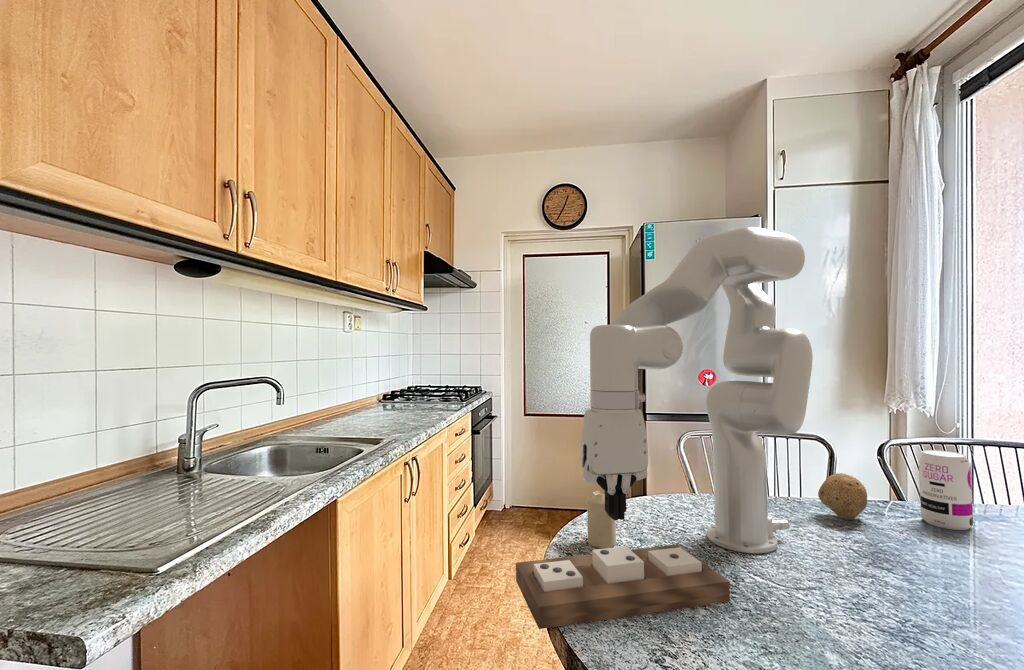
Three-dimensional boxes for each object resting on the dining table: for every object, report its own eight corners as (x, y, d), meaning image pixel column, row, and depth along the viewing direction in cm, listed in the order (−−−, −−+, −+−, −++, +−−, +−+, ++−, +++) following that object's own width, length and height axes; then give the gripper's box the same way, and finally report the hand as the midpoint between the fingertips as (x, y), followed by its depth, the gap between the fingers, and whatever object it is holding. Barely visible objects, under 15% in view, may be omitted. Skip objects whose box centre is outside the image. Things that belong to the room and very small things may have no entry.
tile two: (626, 564, 79) (626, 545, 79) (644, 581, 73) (643, 560, 73) (592, 568, 78) (592, 548, 78) (607, 586, 72) (607, 564, 72)
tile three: (569, 578, 77) (569, 558, 77) (583, 597, 71) (582, 576, 71) (533, 583, 75) (533, 563, 75) (544, 602, 69) (544, 580, 70)
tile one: (680, 565, 81) (680, 546, 81) (702, 581, 75) (701, 561, 75) (648, 569, 80) (648, 550, 80) (667, 586, 74) (667, 565, 74)
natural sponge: (812, 517, 106) (810, 472, 106) (828, 509, 111) (827, 466, 112) (860, 529, 99) (858, 481, 99) (875, 520, 104) (873, 474, 104)
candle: (616, 549, 91) (615, 496, 91) (587, 547, 92) (586, 495, 92) (615, 538, 96) (614, 488, 96) (588, 536, 97) (587, 487, 97)
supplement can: (967, 521, 103) (964, 451, 103) (978, 534, 96) (974, 459, 96) (918, 515, 107) (915, 448, 107) (925, 526, 100) (922, 455, 100)
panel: (678, 561, 85) (677, 544, 85) (730, 601, 72) (729, 581, 72) (516, 581, 79) (515, 562, 79) (538, 629, 65) (538, 607, 65)
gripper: (645, 398, 81) (646, 506, 81) (562, 400, 78) (563, 513, 77) (668, 402, 74) (670, 521, 73) (578, 405, 71) (579, 529, 70)
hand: (615, 516), depth 75 cm, fingers closed
